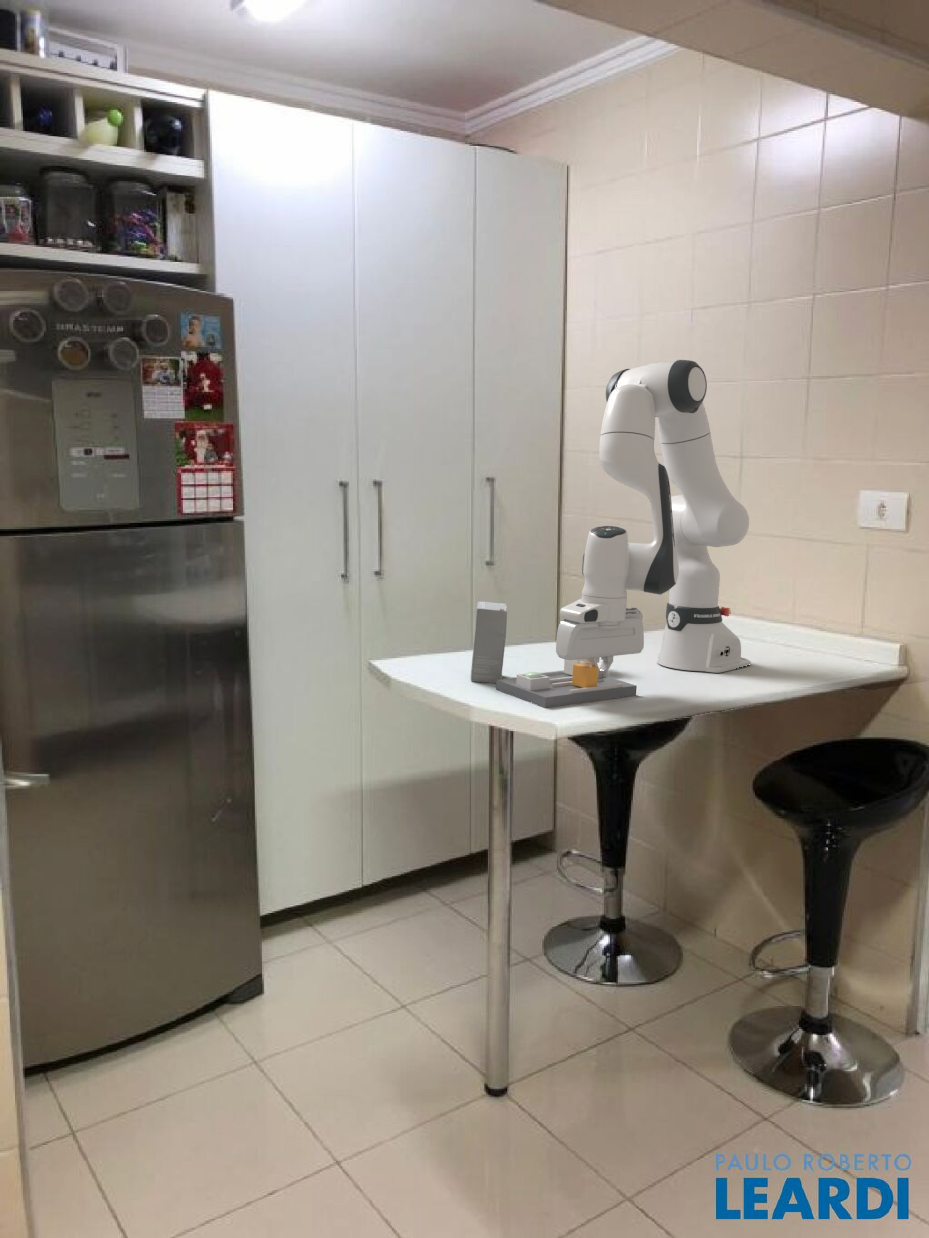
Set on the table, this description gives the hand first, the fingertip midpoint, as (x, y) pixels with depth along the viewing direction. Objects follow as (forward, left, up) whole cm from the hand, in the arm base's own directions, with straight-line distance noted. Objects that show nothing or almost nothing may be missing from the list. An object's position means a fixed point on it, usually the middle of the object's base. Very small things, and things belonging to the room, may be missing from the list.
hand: (599, 678), depth 199 cm
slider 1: (-2, -9, -1) cm, 9 cm away
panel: (+4, -5, -3) cm, 7 cm away
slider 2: (+4, 0, -1) cm, 4 cm away
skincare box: (+12, -22, -4) cm, 25 cm away
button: (+13, -5, -1) cm, 14 cm away
